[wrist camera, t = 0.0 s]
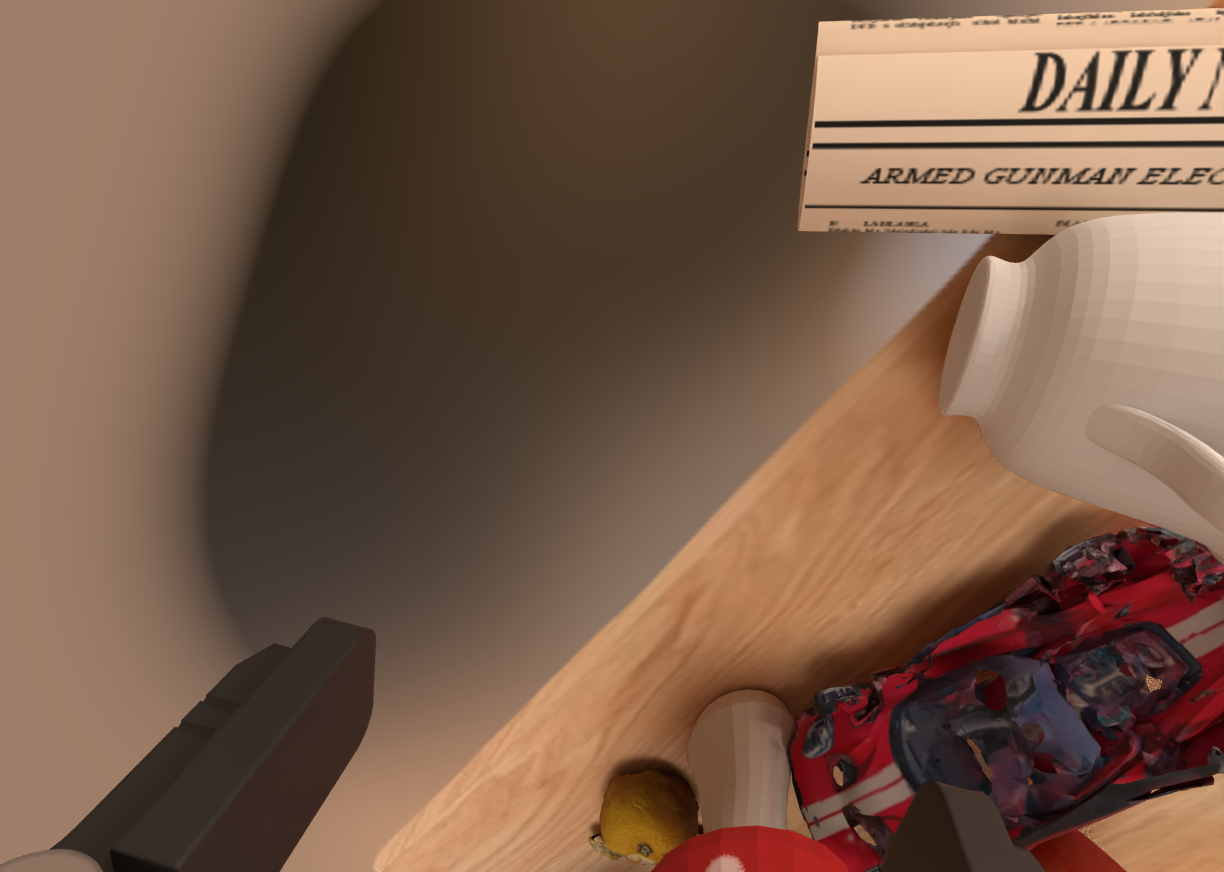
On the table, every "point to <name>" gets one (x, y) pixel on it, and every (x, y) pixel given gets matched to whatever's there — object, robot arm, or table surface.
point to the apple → (1073, 855)
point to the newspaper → (1014, 121)
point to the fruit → (646, 816)
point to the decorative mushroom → (745, 792)
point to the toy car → (1035, 702)
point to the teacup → (1104, 367)
